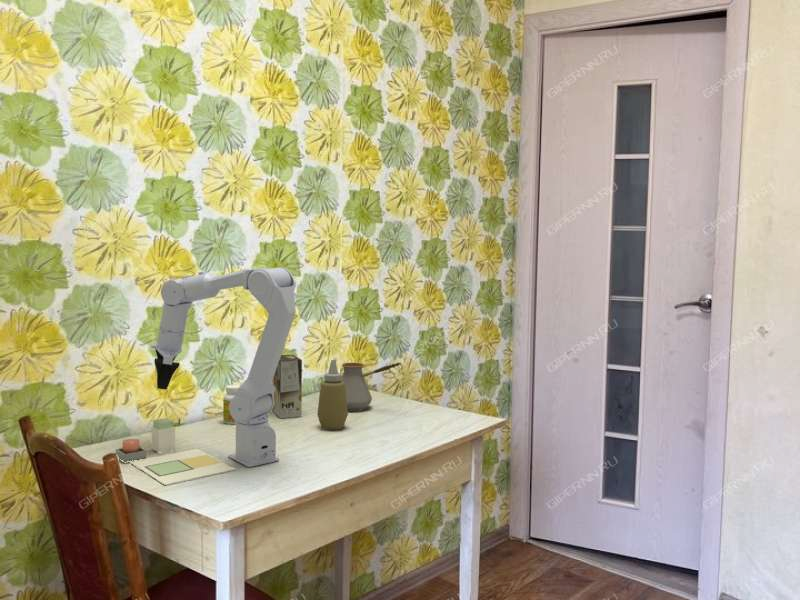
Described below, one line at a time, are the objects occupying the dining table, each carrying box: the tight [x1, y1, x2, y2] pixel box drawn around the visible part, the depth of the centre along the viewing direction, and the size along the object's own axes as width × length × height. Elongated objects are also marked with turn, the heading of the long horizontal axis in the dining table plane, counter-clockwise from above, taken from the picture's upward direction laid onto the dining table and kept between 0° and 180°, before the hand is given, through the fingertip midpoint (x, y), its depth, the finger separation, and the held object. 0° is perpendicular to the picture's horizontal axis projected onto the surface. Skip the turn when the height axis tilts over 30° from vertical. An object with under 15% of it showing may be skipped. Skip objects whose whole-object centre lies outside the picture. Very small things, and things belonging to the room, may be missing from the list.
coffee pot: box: [341, 362, 404, 412], centre depth 219 cm, size 21×12×15 cm, turn 65°
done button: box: [122, 438, 141, 454], centre depth 171 cm, size 4×4×2 cm
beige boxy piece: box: [151, 417, 176, 453], centre depth 178 cm, size 4×4×7 cm
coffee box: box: [271, 354, 303, 419], centre depth 213 cm, size 9×6×16 cm
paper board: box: [131, 448, 236, 486], centre depth 167 cm, size 18×16×1 cm
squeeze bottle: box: [316, 359, 349, 431], centre depth 200 cm, size 8×8×18 cm
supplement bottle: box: [222, 384, 241, 425], centre depth 203 cm, size 5×5×10 cm
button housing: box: [115, 446, 147, 462], centre depth 171 cm, size 5×5×2 cm
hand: (162, 382), depth 182 cm, fingers open, 7 cm apart
